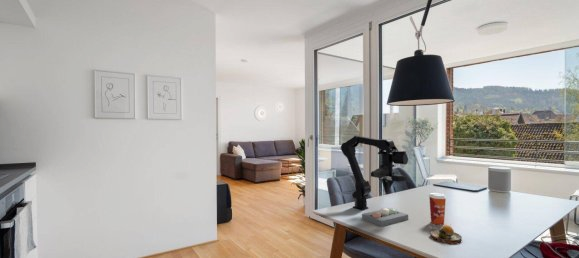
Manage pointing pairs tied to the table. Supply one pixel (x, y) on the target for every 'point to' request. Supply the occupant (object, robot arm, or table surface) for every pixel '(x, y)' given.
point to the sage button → (393, 211)
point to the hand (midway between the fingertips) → (387, 191)
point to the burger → (446, 235)
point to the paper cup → (437, 208)
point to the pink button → (376, 215)
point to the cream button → (384, 211)
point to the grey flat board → (385, 218)
